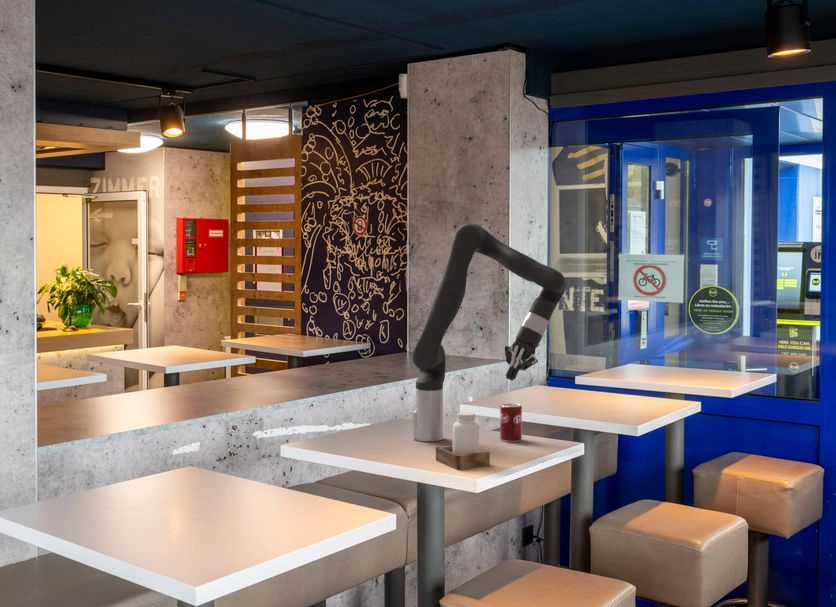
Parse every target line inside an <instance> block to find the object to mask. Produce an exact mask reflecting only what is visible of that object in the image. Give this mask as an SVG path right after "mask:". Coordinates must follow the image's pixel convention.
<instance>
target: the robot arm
mask: <svg viewBox="0 0 836 607" xmlns="http://www.w3.org/2000/svg"><path fill="white" fill-rule="evenodd" d="M475 253H479V254H480V255H483V256H486V257H489V258H490V259H493V260H495V261H496V262H497V263H498V264H500V265H502V266H503V267H504V268H506V269H507V270H508V271H509V272H510V273H512V274H515V275H516V276H518V277H520V278H521V279H523V280H525V281H528V282H531V283H534V284H535V285H537V286H539V287H541V288H542V289H541V291H540V292H539V295H538V297H536V298H535V299H534V300H533V302H532V304H531V306H530V308H529V310H528V312H527V314H526V316H525V317H524V319H523V321H522V322H521V323H522V324H521V326H520V327H519V330H518V332H517V334H516V336H515V341H514V342H513V343H512V344H511V345H509V346H507V345H505V346H504V353H505V354H504V355H505V362H506V363H507V365H508V370H507V371H506V374H505V376H506V377H505V378H506V379H508V380H509V381H514V380H515V379H516V377H517V376H518V373H519V371H526V370H527V369H529V368H531V367H532V366H534V365H535V364H537V363H538V362H539V360H538V358H536V355H535V354H536V349H537V348H538V347H539V345H540V343H541V341H542V339H543V336H544V335H545V332H546V330H547V327H548V324H549V322H550V320H551V318H552V315H553V313H554V311H555V308H556V307H557V305H558V304H559V303H560V302H561V301H560V300H561V299H562V297H563V295H564V294H565V292H566V288H567V281H566V278H565V277H564V275H563V273H562V272H560V271H559V270H556V269H555V268H554V267H553V268H552V267H550V266H548V265H545V264H543V263H540V262H539V261H538V260H536V259H534V258H532V257H531V256H528V255H526V254H524V253H522V252H520V251H518V250H516V249H515V248H513V247H511V246H509V245H507V244H505V243H503V242H502V241H501V240H499V239H498V238H496V237H495V236H493V235H492V234H491V233H489V232H488V231H487V230H486V229H485V228H484V227H482V226H481V225H479V224H476V223H464V224H462V225H461V226H460V227H458V229H456V231H455V234H454V236H453V240H452V245H451V249H450V253H449V256H448V258H447V259H448V260H447V263H446V266H445V268H444V270H443V273H442V276H441V277H440V282H439V283H438V286H437V289H436V291H435V294H434V297H433V300H432V304H431V306H430V309H429V311H428V316H427V318H426V322H425V324H424V327H423V330H422V332H421V334H420V336H419V338H418V340H417V341H416V344H415V346H414V349H413V351H412V362H413V364H414V366H415V367H416V368H417V369H419V373H418V377H417V378H416V381H415V410H414V411H413V440H416V441H420V442H421V441H422V442H438V441H439V442H440V441H442V440H443V439H444V381H445V378H446V351H445V348H444V346H443V345H442V341H443V339H444V336H445V333H446V332H447V330H448V329H449V327H450V326H451V324H452V323H453V321H454V319H455V318H456V317H457V315H458V313H459V311H460V308H461V305H462V303H463V300H464V297H465V295H466V294H465V293H466V290H467V289H466V288H467V277H468V270H469V266H470V264H471V261H472V259H473V257H474V255H475Z"/></svg>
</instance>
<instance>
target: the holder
mask: <svg viewBox="0 0 836 607" xmlns="http://www.w3.org/2000/svg"><path fill="white" fill-rule="evenodd" d="M490 455H491V452H490V451H481V452H480V451H479V453H470V454H462V455H458V454H455V453H453V444H452V445H443V446H435V461H437V462H438V463H442V464H444V465H445V466H447V467H451V468H452V469H454V470H456V471H457V470H465V469H472V468H474V469H475V468H481V467H488V466H489V467H490V466H491V462H490V461H491V456H490Z"/></svg>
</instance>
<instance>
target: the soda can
mask: <svg viewBox="0 0 836 607" xmlns="http://www.w3.org/2000/svg"><path fill="white" fill-rule="evenodd" d="M499 414H500V415H499V429H500V430H499V438H500V441H501V442H504V443H505V442H506V443H519V442H521V441H522V440H523V438H522V437H523V432H522V431H523V407H522V405H521V404H519V403H501V405H500V406H499Z"/></svg>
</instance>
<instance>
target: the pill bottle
mask: <svg viewBox="0 0 836 607" xmlns="http://www.w3.org/2000/svg"><path fill="white" fill-rule="evenodd" d="M456 416H457V419H456V421H455V422H454V423H453V424H452V445H453V453H455V454H458V455H462V454H470V453H479V452H480V427H479V424H478V423H477V422H476V421H475V419H476V414H475V413H474V412H470V411H469V412H467V411H462V412H458V413H457V414H456Z"/></svg>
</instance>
